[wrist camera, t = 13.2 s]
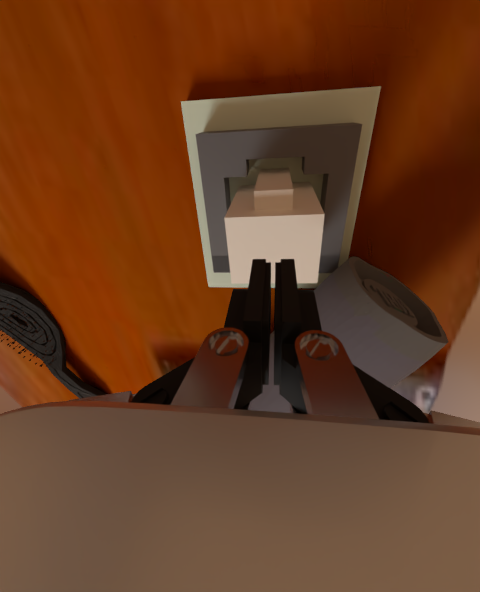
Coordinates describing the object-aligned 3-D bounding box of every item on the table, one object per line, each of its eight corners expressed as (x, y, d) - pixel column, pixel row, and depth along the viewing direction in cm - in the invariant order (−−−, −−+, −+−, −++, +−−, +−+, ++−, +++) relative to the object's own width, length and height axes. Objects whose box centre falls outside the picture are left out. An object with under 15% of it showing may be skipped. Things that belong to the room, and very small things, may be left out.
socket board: (186, 101, 18) (170, 101, 15) (374, 87, 16) (393, 83, 14) (211, 280, 26) (203, 299, 23) (339, 281, 24) (347, 302, 22)
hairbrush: (80, 422, 40) (-88, 296, 27) (93, 399, 43) (-53, 275, 30) (125, 416, 38) (-34, 276, 24) (135, 393, 41) (-1, 256, 27)
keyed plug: (238, 170, 19) (222, 197, 13) (311, 166, 18) (326, 192, 13) (243, 237, 22) (231, 283, 16) (306, 235, 21) (317, 283, 15)
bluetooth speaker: (269, 397, 37) (280, 483, 29) (206, 380, 33) (200, 472, 26) (403, 275, 24) (487, 369, 16) (323, 231, 21) (379, 322, 13)
